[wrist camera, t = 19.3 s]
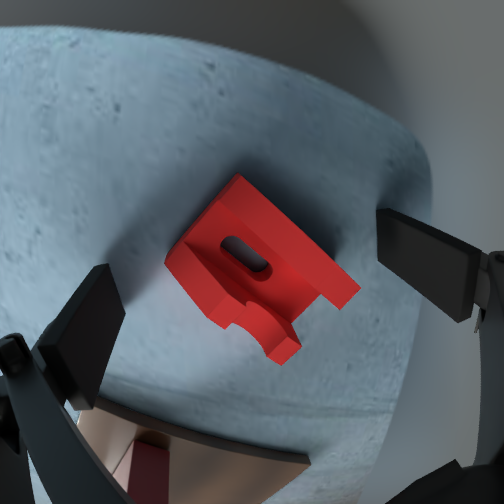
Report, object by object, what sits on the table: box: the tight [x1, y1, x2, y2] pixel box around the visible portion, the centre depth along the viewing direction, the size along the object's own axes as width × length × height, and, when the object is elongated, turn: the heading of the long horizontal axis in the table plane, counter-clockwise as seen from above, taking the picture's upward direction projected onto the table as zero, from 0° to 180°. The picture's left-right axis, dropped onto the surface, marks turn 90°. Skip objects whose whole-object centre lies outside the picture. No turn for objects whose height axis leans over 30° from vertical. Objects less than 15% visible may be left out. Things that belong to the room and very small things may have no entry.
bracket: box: [164, 172, 361, 366], centre depth 13 cm, size 6×5×3 cm
